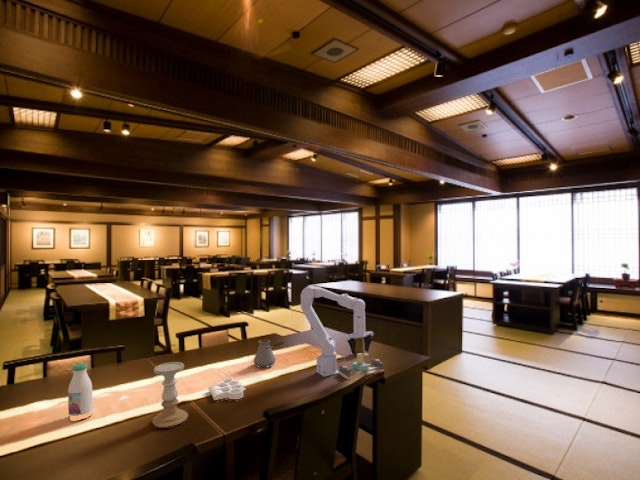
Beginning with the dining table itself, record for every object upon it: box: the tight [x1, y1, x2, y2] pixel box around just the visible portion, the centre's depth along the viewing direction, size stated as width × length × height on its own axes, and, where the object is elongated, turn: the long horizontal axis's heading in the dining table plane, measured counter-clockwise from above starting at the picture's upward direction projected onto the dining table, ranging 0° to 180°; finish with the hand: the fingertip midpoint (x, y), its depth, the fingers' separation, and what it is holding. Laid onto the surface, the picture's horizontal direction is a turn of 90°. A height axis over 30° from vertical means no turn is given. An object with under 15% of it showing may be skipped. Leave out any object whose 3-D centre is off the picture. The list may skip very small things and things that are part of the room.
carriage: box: [351, 353, 369, 371], centre depth 177 cm, size 5×7×7 cm
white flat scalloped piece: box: [207, 378, 247, 401], centre depth 158 cm, size 3×18×15 cm
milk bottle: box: [67, 362, 94, 416], centre depth 138 cm, size 8×8×20 cm
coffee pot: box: [253, 339, 287, 368], centre depth 188 cm, size 21×12×15 cm, turn 49°
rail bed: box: [338, 357, 385, 380], centre depth 177 cm, size 21×9×5 cm, turn 117°
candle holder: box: [151, 361, 189, 427], centre depth 134 cm, size 12×12×20 cm
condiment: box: [349, 337, 370, 357], centre depth 206 cm, size 7×8×12 cm
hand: (360, 352), depth 177 cm, fingers open, 7 cm apart
